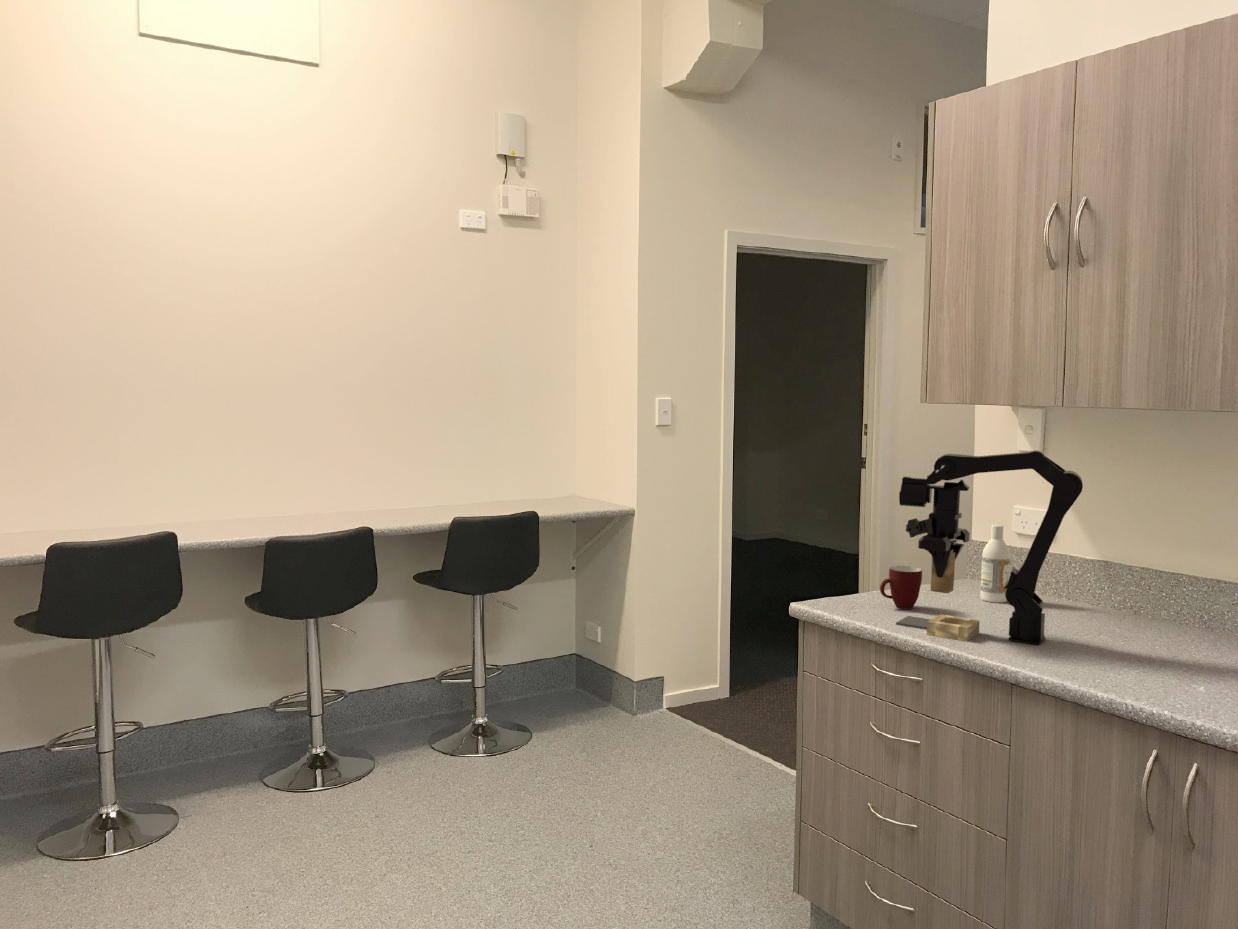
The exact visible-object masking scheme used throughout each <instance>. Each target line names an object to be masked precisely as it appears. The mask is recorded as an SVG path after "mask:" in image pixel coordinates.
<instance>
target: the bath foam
mask: <svg viewBox="0 0 1238 929" xmlns="http://www.w3.org/2000/svg"><path fill="white" fill-rule="evenodd" d="M990 531H991V532H990V537H991V538H990V539H989V540H988V542H987V543H986V544H985V546H984V548H983V551H982V555H981V571H980V572H981V573H980V596H979V597H980V599H981V600H983V601H985V602H987V603H988V602H989V603H998V604H1000V603H1001V604H1003V603H1006V602H1007V599H1006V597H1005V594H1006V590H1007V589H1004V586H1005V583H1006V581H1007V580H1009V578H1010V574H1011V571H1010V570H1011V553H1010V550H1009V547H1008V546H1007V543H1006V542H1005V540H1004V525H1002V524H991V530H990ZM1007 603H1008V602H1007Z"/></svg>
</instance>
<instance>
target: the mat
mask: <svg viewBox="0 0 1238 929" xmlns="http://www.w3.org/2000/svg"><path fill="white" fill-rule="evenodd" d="M930 620H931V619H930V618H924V617H918V616H913V615H912V616H911V615H907V616H905V617H903V618H902V619H900V620H898V621H896V622H895V625H896V626H897V625H898V626H905V627H910V628H916V629H922V630H927V622H928V621H930Z"/></svg>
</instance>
